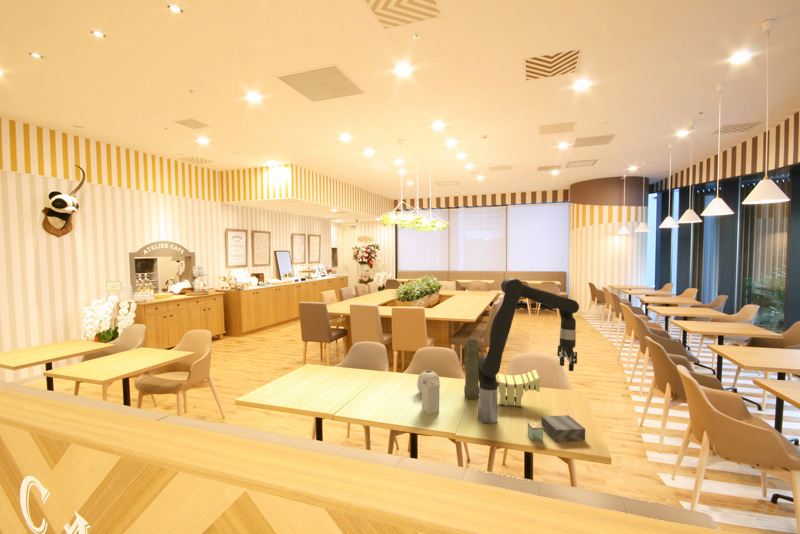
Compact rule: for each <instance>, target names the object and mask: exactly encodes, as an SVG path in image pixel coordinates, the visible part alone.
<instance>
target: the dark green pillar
mask: <svg viewBox="0 0 800 534" xmlns="http://www.w3.org/2000/svg"><path fill="white" fill-rule="evenodd" d="M465 352H466V353H465ZM461 353H462V355H461V356H462V361H461V362H462V364H464V369H465V370H464V371H465V372H464V373H465V374H464V375H465V379H464V380H465V383H464V388H463V391H464V392H463V393H464V396H465V397H464V398H465V399H466V398H467V400H471V401H475V400H476V399H477V400H479V399H478V398H479V378H478V363H479V360H480V358H481V357H482V356H483V348H482V347H480V343H479V340H478V339H476V338H468V339H466V343H465V346H463V347H462V349H461ZM479 353H480V355H479Z"/></svg>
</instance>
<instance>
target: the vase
mask: <svg viewBox="0 0 800 534" xmlns="http://www.w3.org/2000/svg"><path fill="white" fill-rule="evenodd" d="M431 376H436V378H437V380H438V383H439V389H440V387H441V384H440V377H439V375H438V374H437V373H436V372H435V371H432V370H430V369H429V370H424V371H423V372H421V373H420V374H419V375H418V378H417V383H416V385H417V386H416V387H417V390H418V392H419V393H421V394H422V382H423V381H424V380H425V377H431Z"/></svg>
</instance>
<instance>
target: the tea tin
mask: <svg viewBox="0 0 800 534" xmlns="http://www.w3.org/2000/svg"><path fill="white" fill-rule="evenodd" d="M527 437H528V438H529V439H530V441H532V442H543V441H544V430H543V427H542V424H540V422H539V421H535V422H527Z"/></svg>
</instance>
